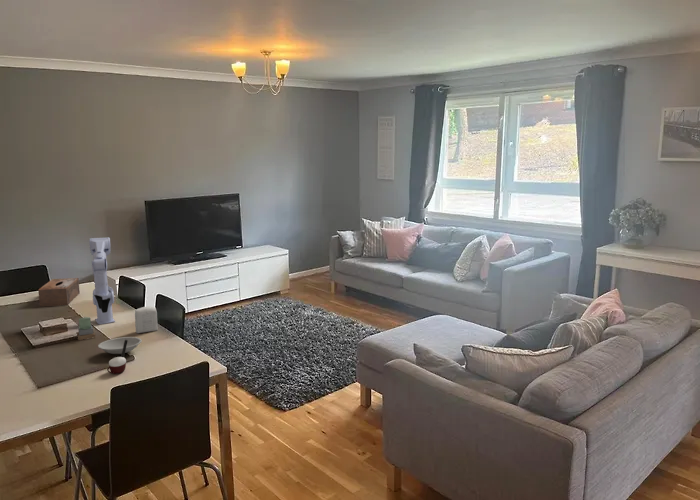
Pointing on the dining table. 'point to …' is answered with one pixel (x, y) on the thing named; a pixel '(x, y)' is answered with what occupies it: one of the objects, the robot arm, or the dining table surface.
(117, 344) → the dish
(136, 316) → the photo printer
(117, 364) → the cocoa
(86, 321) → the pale green block
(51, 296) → the tissue box cover
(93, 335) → the walnut base block
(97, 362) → the dining table surface
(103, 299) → the robot arm
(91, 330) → the slate top block
